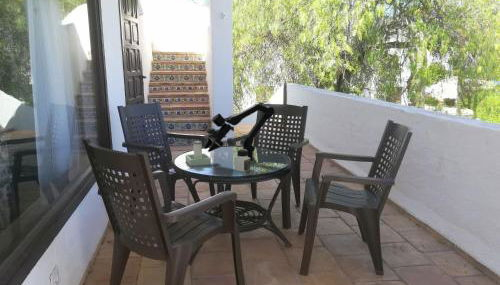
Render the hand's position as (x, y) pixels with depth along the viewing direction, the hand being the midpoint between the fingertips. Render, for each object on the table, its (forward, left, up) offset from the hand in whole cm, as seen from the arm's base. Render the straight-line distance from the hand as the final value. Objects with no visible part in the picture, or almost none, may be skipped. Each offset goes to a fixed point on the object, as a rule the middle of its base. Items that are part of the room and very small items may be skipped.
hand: (206, 150), depth 246 cm
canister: (+4, +3, -7) cm, 9 cm away
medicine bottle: (-27, +9, -8) cm, 29 cm away
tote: (+4, +3, -8) cm, 10 cm away
